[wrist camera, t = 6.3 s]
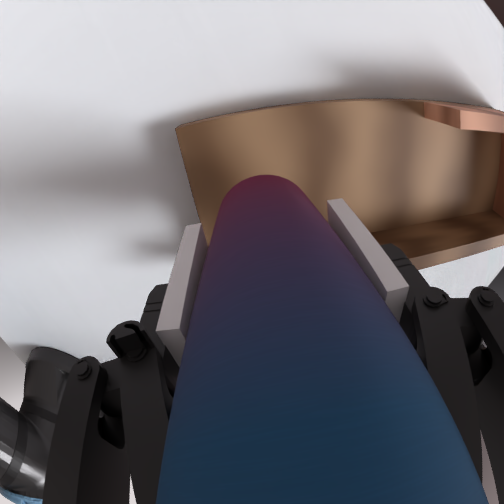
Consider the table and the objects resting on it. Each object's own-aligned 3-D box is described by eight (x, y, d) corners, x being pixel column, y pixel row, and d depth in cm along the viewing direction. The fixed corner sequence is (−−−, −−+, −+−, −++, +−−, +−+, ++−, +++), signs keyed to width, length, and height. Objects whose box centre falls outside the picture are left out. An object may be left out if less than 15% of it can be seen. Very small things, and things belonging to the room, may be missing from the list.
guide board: (217, 259, 23) (213, 322, 17) (180, 124, 17) (153, 143, 11) (485, 210, 22) (527, 244, 16) (494, 108, 16) (547, 128, 10)
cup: (189, 168, 13) (63, 567, 1) (325, 151, 13) (564, 466, 1) (214, 276, 17) (204, 556, 4) (325, 262, 17) (414, 521, 4)
